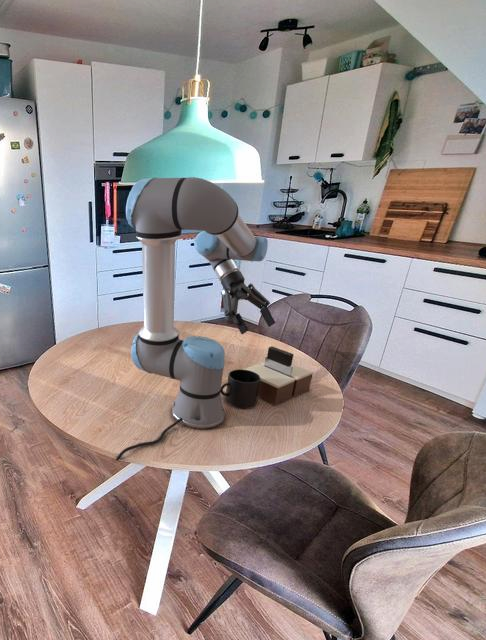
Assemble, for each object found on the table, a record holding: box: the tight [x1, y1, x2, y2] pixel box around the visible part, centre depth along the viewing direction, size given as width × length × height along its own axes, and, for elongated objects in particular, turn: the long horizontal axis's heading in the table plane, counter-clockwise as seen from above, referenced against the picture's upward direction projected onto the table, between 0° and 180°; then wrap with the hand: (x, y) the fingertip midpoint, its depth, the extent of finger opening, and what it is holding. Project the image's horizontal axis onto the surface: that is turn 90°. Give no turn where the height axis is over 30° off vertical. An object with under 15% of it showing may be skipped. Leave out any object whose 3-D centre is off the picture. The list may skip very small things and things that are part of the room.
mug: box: [220, 368, 260, 409], centre depth 121 cm, size 9×12×9 cm
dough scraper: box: [264, 345, 294, 377], centre depth 127 cm, size 2×10×12 cm, turn 32°
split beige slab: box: [242, 361, 314, 406], centre depth 129 cm, size 18×14×7 cm
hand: (259, 328), depth 130 cm, fingers open, 13 cm apart
